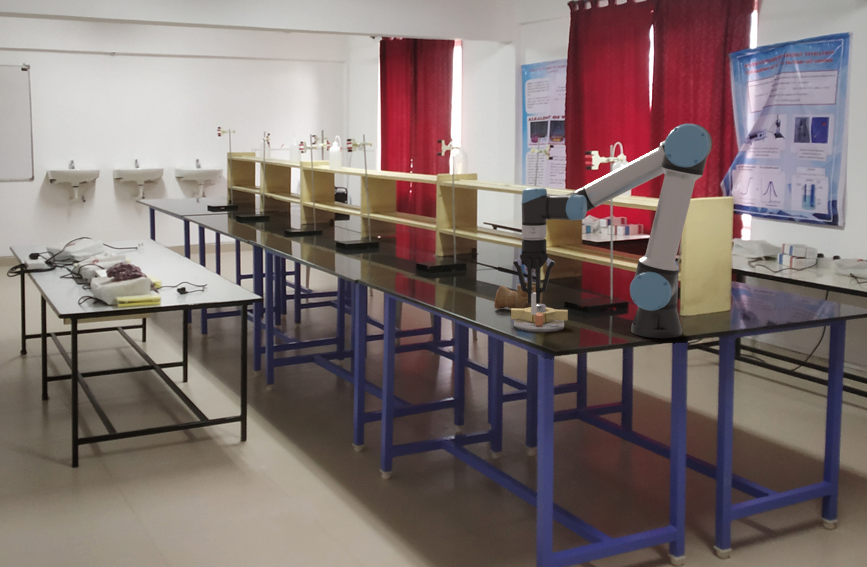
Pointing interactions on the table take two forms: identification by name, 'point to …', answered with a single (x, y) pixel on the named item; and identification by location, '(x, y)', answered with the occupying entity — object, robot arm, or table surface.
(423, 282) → the table surface
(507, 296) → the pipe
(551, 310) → the star wheel
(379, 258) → the table surface
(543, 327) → the star wheel turntable
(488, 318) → the table surface
